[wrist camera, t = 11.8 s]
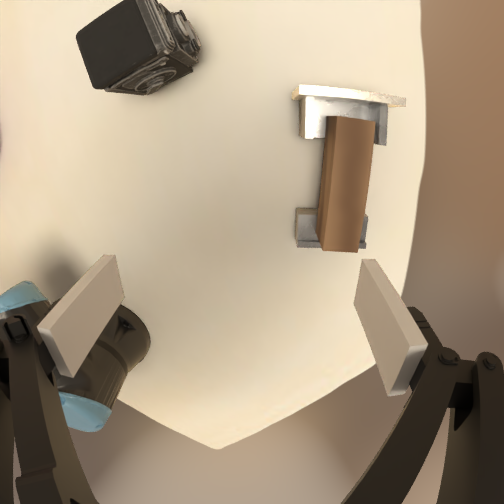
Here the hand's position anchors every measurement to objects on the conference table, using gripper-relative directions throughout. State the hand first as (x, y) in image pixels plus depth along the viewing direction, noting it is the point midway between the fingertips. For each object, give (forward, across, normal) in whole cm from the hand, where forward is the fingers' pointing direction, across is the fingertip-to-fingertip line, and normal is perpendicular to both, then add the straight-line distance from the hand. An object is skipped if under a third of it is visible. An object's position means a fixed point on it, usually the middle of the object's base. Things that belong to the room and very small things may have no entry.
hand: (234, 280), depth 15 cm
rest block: (+29, +11, -7) cm, 32 cm away
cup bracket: (+29, +11, +8) cm, 32 cm away
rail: (+26, +11, +1) cm, 28 cm away
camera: (+29, -12, +18) cm, 36 cm away
